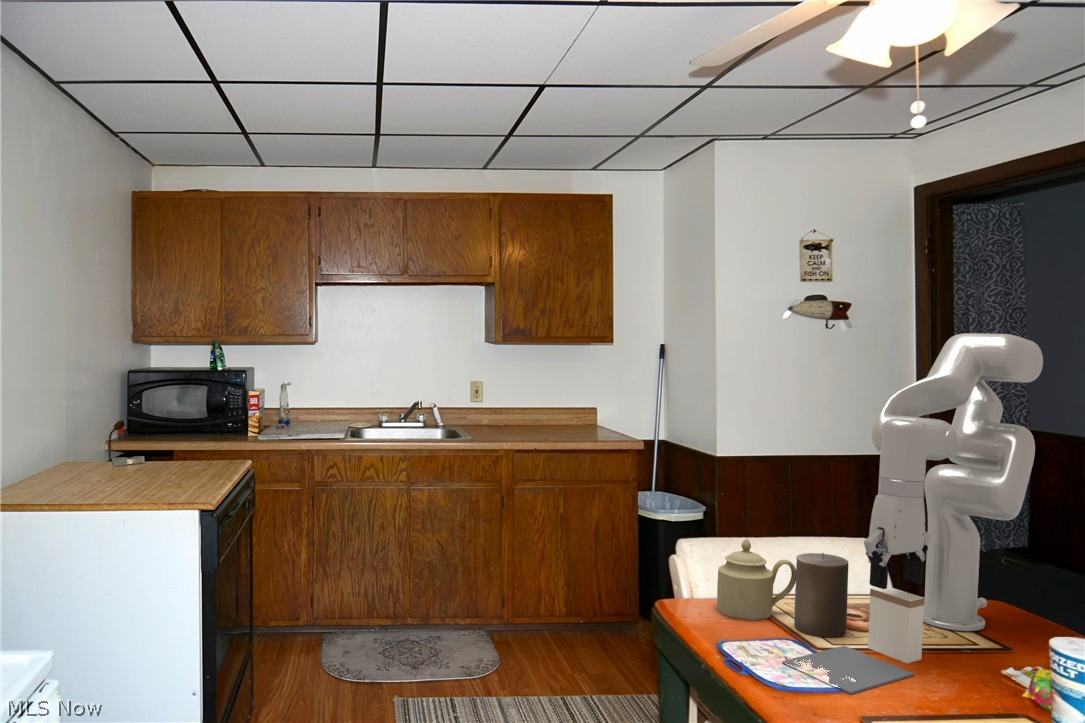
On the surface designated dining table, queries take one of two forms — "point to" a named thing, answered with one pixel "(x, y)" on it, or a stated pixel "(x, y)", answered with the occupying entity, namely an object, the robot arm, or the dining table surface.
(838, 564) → the pillar candle
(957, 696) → the dining table surface
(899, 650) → the slab
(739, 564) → the sugar bowl
